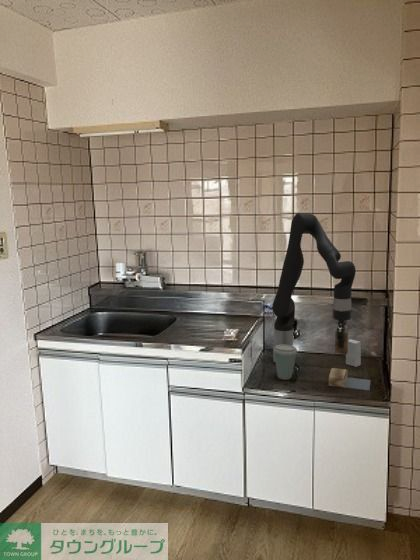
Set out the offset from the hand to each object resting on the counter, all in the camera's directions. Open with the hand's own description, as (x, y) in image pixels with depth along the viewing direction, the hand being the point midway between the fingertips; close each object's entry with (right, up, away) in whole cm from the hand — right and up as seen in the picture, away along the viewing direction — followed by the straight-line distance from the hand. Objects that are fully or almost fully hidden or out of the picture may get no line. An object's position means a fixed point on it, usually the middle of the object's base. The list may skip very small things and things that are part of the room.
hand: (341, 346), depth 200 cm
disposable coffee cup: (-23, -16, +13) cm, 31 cm away
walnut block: (0, -3, 0) cm, 3 cm away
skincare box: (+13, -13, +25) cm, 31 cm away
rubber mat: (+8, -17, +3) cm, 19 cm away
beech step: (0, -17, +6) cm, 18 cm away
